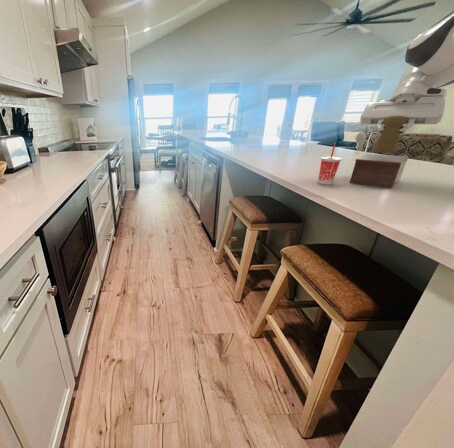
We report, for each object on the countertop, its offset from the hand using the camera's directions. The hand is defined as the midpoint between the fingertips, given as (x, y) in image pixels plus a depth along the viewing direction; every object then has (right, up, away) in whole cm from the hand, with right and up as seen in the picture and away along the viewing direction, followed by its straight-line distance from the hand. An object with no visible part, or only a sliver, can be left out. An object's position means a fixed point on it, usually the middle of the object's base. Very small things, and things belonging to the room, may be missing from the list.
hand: (390, 132), depth 80 cm
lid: (+1, -8, +4) cm, 9 cm away
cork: (+1, -5, +3) cm, 6 cm away
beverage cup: (-16, -16, +9) cm, 24 cm away
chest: (+1, -15, +7) cm, 17 cm away
